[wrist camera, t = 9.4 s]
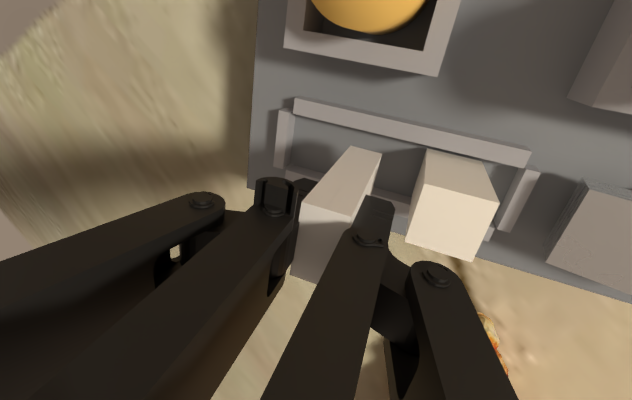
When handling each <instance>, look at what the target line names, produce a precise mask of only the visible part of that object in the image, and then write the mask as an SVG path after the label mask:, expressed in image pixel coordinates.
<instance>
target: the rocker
mask: <svg viewBox="0 0 632 400" xmlns="http://www.w3.org/2000/svg"><path fill="white" fill-rule="evenodd" d="M543 248H544V256H545V263H548V264H551V265H553V266H556V267H559V268H561V269H564V270H567V271H569V272H572V273H574V274H577V275H580V276H582V277H585V278H588V279H590V280H593V281H595V282H598V283H601V284H603V285H606V286H609V287H611V288H614V289H617V290H619V291H622V292H624V293H627V294H630V295H632V190H628V189H625V188H621V187H617V186H614V185H610V184H607V183H603V182H599V181H596V180H592V179H589V178H585V177H582V178H581V180H580V182H579V183H578V185H577V187H576V189H575V190H574V192H573V194H572V195H571V197H570V199H569V201H568V202H567V204H566V206H565V208H564V209H563V211H562V213H561V214H560V216H559V218H558V220H557V221H556V223H555V225H554V226H553V228H552V230H551V232H550V233H549V235H548V237H547V238H546V240H545V242H544V244H543Z"/></svg>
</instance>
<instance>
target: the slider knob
mask: <svg viewBox="0 0 632 400" xmlns="http://www.w3.org/2000/svg"><path fill="white" fill-rule="evenodd" d="M499 204H500V202H499V200H498V198H497V195H496V193H495V191H494V188H493V186H492V184H491V181H490V179H489V177H488V175H487V172H486V170H485V168H484V165H483V163H482V161H478V160H474V159H470V158H466V157H462V156H457V155H453V154H449V153H445V152H441V151H437V150H432V149H428V148H427V150H426V153H425V156H424V159H423V162H422V165H421V168H420V171H419V174H418V178H417V181H416V184H415V187H414V190H413V193H412V197H411V204H410V210H409V216H408V222H407V229H406V235H405V241H404V242H407V243H410V244H413V245H416V246H420V247H423V248H426V249H430V250H433V251H436V252H439V253H443V254H446V255H449V256H452V257H456V258H459V259H462V260H465V261H469V262H472V261H473V259H474V257H475V255H476V253H477V251H478V249H479V247H480V244H481V242H482V240H483V238H484V236H485V234H486V232H487V230H488V228H489V225H490V223H491V221H492V219H493V217H494V215H495V213H496V211H497V209H498V206H499Z"/></svg>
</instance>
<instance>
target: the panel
mask: <svg viewBox="0 0 632 400" xmlns="http://www.w3.org/2000/svg"><path fill="white" fill-rule="evenodd" d="M350 146H354V147H358V148H362V149H366V150H370V151H373V152H377V153H381V154H382V156H381V160H380V163H379V167H378V171H377V174H376V178H375V182H374V185H373V189H372V193H371V196H373V197H377V198H380V199H383V200H387V201H390V202H392V204H393V206H394V207H395V213H394V218H393V222H392V226H391V231H392V232H395V233H398V234H402V235H406V229H407V222H408V216H409V210H410V204H411V197H412V193H413V190H414V187H415V184H416V181H417V178H418V174H419V171H420V168H421V165H422V162H423V159H424V156H425V153H426V150H427V148H428V149H432V150H437V151H441V152H445V153H449V154H453V155H457V156H462V157H466V158H470V159H474V160H478V161H482V163H483V165H484V168H485V170H486V172H487V175H488V177H489V179H490V181H491V184H492V186H493V188H494V191H495V193H496V195H497V198H498V200H499V202H500V204H499V206H498V209H497V211H496V213H495V215H494V217H493V219H492V221H491V223H490V225H489V228H488V230H487V232H486V234H485V236H484V238H483V240H482V242H481V244H480V247H479V249H478V251H477V253H476V255H475V257H478V258H481V259H484V260H488V261H491V262H494V263H498V264H501V265H504V266H508V267H511V268H514V269H517V270H521V271H524V272H527V273H531V274H534V275H537V276H541V277H544V278H547V279H551V280H554V281H557V282H561V283H564V284H567V285H570V286H574V287H577V288H580V289H584V290H587V291H590V292H594V293H597V294H600V295H604V296H607V297H610V298H614V299H617V300H620V301H623V302H627V303H630V304H632V295H630V294H627V293H624V292H622V291H619V290H617V289H614V288H611V287H609V286H606V285H603V284H601V283H598V282H595V281H593V280H590V279H588V278H585V277H582V276H580V275H577V274H574V273H572V272H569V271H567V270H564V269H561V268H559V267H556V266H553V265H551V264H548V263H545V256H544V248H543V244H544V242H545V240H546V238H547V237H548V235H549V233H550V232H551V230H552V228H553V226H554V225H555V223H556V221H557V220H558V218H559V216H560V214H561V213H562V211H563V209H564V208H565V206H566V204H567V202H568V201H569V199H570V197H571V195H572V194H573V192H574V190H575V189H576V187H577V185H578V183H579V182H580V180H581V178H582V177H585V178H589V179H592V180H596V181H599V182H603V183H607V184H610V185H614V186H617V187H621V188H625V189H628V190H632V0H429V1H428V3H427V4H426V6H425V8H424V9H423V10H422V12H421V13H420V14H419V15H418V16H417V17H416V18H415V19H414V20H413V21H412V22H411V23H409V24H408V25H407V26H405V27H404V28H402V29H400V30H398V31H395V32H393V33H389V34H384V35H371V34H367V33H363V32H359V31H356V30H352V29H348V28H345V27H342V26H339V25H337V24H335V23H333V22H332V21H330V20H328V19H327V18H326V17H325V16H324V15H322V14H321V13H320V11H319V10H318V9H317V8H316V7H315V5H314V4H313V2H312V1H311V0H259V2H258V18H257V34H256V50H255V66H254V82H253V98H252V113H251V129H250V145H249V161H248V177H247V188H249V189H252V190H255V184H256V180H257V179H260V178H263V177H280V178H285V179H287V180H290V181H292V182H294V181H295V180H298V179H302V178H307V179H310V180H314V181H317V182H319V181H320V180H321V179H322V178H323V177H324V176H325V174H326V173H327V172H328V171H329V170H330V169H331V168H332V166H333V165H334V164H335V163H336V162H337V161H338V159H339V158H340V157H341V156H342V155H343V154H344V153H345V151H346V150H347V149H348V148H349V147H350Z"/></svg>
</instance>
